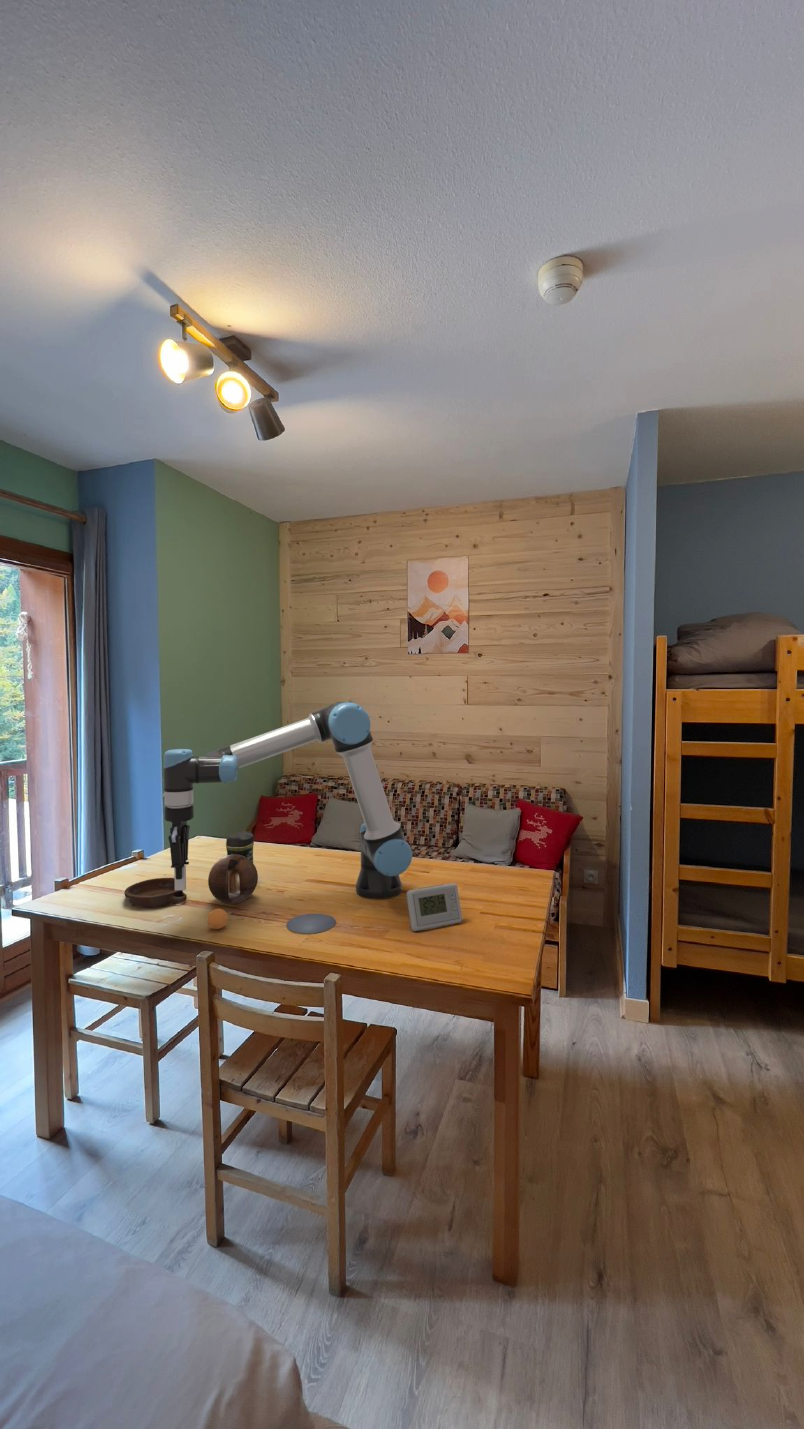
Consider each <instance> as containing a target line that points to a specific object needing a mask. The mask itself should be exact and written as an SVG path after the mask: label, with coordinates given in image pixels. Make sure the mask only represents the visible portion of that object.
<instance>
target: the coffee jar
mask: <svg viewBox="0 0 804 1429" xmlns="http://www.w3.org/2000/svg"><path fill="white" fill-rule="evenodd" d="M254 839H255V838H254V834H253V833H252V832H251V831H246V830H245V831H241V830H240V831H239V832H237V833H234V834H232V835H230V836H227V837H226V842H225V847H226V848H225V849H226V854H227V855H226V856H228V855H234V854H236V855H242V856H244V857H246V858H248V859H249V860H251V861H252V863H253V864H254V845H255V844H254V843H255V841H254Z"/></svg>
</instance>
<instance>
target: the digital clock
mask: <svg viewBox="0 0 804 1429" xmlns="http://www.w3.org/2000/svg"><path fill="white" fill-rule="evenodd" d="M405 896H406V901H407V902H406V903H407V909H408V915H409V922H410V929H411V931H413V932H419V931H428V929H429V930H433V929H439V928H443V927H442V926H445V927H449V925H450V926H452V925H456V924H460V923H462V922H463V913H462V908H461V902H460V901H461V900H460V896H459V889H458V886H457V884H456V883H454V882H453V883H446V884H444V883H443V884H437V885H436V884H435V885H432V886H430V885H429V886H425V887H419V888H416V889H410V890H407V891H406V895H405ZM438 927H439V928H438Z"/></svg>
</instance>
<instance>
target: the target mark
mask: <svg viewBox="0 0 804 1429" xmlns="http://www.w3.org/2000/svg"><path fill="white" fill-rule="evenodd" d="M336 922H337V921H336V919H335V918H334V917H333V916H331V915H328V914H325V913H305V914H299V915H297V916H294V917H292V918H291V919H289V920H288V921H287V922H286V925H285V927H286V929H287V930H289V931H290V932H291V931H292V932H291V933H294V934H300V935H314V934H320V933H323V932H324V933H325V932H327V931H329V930H331V929H332V928H334V927H335V926H336V924H337V923H336Z"/></svg>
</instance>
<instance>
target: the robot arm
mask: <svg viewBox="0 0 804 1429" xmlns="http://www.w3.org/2000/svg"><path fill="white" fill-rule="evenodd" d="M329 740H331V741H332V744H333V746H334V750H335V753H336V754H338V755H339V756H341V757H342V758H343V760H344V764H345V767H346V770H347V773H348V775H349V776H348V777H349V779H350V783H351V785H352V788H353V791H354V792H353V793H354V794H355V797H356V800H357V804H358V807H359V810H360V813H361V816H362V819H363V823H362V824H361V825H360V831H359V835H360V838H359V840H360V870H359V873H358V877H357V880H356V883H355V893H356V894H357V896H360V897H362V898H365V899H371V900H382V899H384V900H385V899H388V898H393V897H396V896H399V895H400V894H401V893H402V892H403V891H402V890H403V888H402V887H403V886H402V880H401V877H400V875H402V874H404V872H406V871H407V870H408V869H409V866H410V865H411V863H412V860H413V852H412V848H411V846H410V844H409V843H408V842H407V841H406V839H405V836H404V832H403V829H402V826H401V824H400V823H399V822H397V821H395V820H394V818H393V814H392V811H391V809H390V805H389V802H388V799H387V796H386V793H385V789H384V786H383V783H382V780H381V778H380V774H379V771H378V768H377V765H376V762H375V759H374V758H375V757H374V755H373V752H372V748H371V747H372V745H373V743H374V738H373V735H372V732H371V719H370V716H369V713H368V712H367V711H366V709H364V708H363V707H362V706H361V705H359V704H358V703H355V702H349V701H337V702H334V703H332V704H330V705H327V706H326V707H323V708H321V709H319V710H317V711H314V712H311V713H309V715H308V717H307V718H304V719H301V720H298V721H296V722H295V721H294V722H293V723H290V724H286V725H285V726H282V727H279V728H276V729H273V730H270V731H267V732H265V733H261V734H259V735H256V736H254V737H251V738H247V739H245V740H242V741H238V742H236V743H234V744H230V745H228V746H224V747H221V748H219V749H218V748H217V749H216V748H215V749H213V750H211V751H209V752H208V753H207V754H206V755H202V756H201V755H200V756H196V755H194V753H193V750H192V749H189V748H185V749H184V748H177V749H168V750H166V751H165V752H164V754H163V767H162V768H163V789H164V790H163V791H164V792H163V793H162V795H161V796H162V798H164V806H165V807H164V808H163V809H164V810H163V811H164V820H165V821H166V822H170V823H171V827H170V828H169V829H170V830H169V833H170V835H168V836H167V837H168V842H169V850H170V860H171V862H170V863H171V866H170V869H173V870H174V877H173V878H175V890H183V891H185V890H187V866H188V865H189V863H190V862H189V861H188V860H189V856H188V855H189V840H190V838H189V835H190V828H191V826H190V825H189V824H188V821H191V820H193V819H194V805H193V804H194V784H210V783H211V784H212V783H213V784H215V783H223V784H225V783H230V782H231V783H232V782H233V783H234V782H236V781H237V780H238V769H241V768H244V767H246V766H249V765H252V764H255V763H257V762H258V763H259V762H261V761H263V760H267V759H268V758H271V757H274V756H277V755H279V754H283V753H286V752H289V751H291V750H293V749H297V748H300V747H302V746H306V745H308V744H310V743H313V742H316V741H317V742H318V743H323V742H324V741H329Z"/></svg>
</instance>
